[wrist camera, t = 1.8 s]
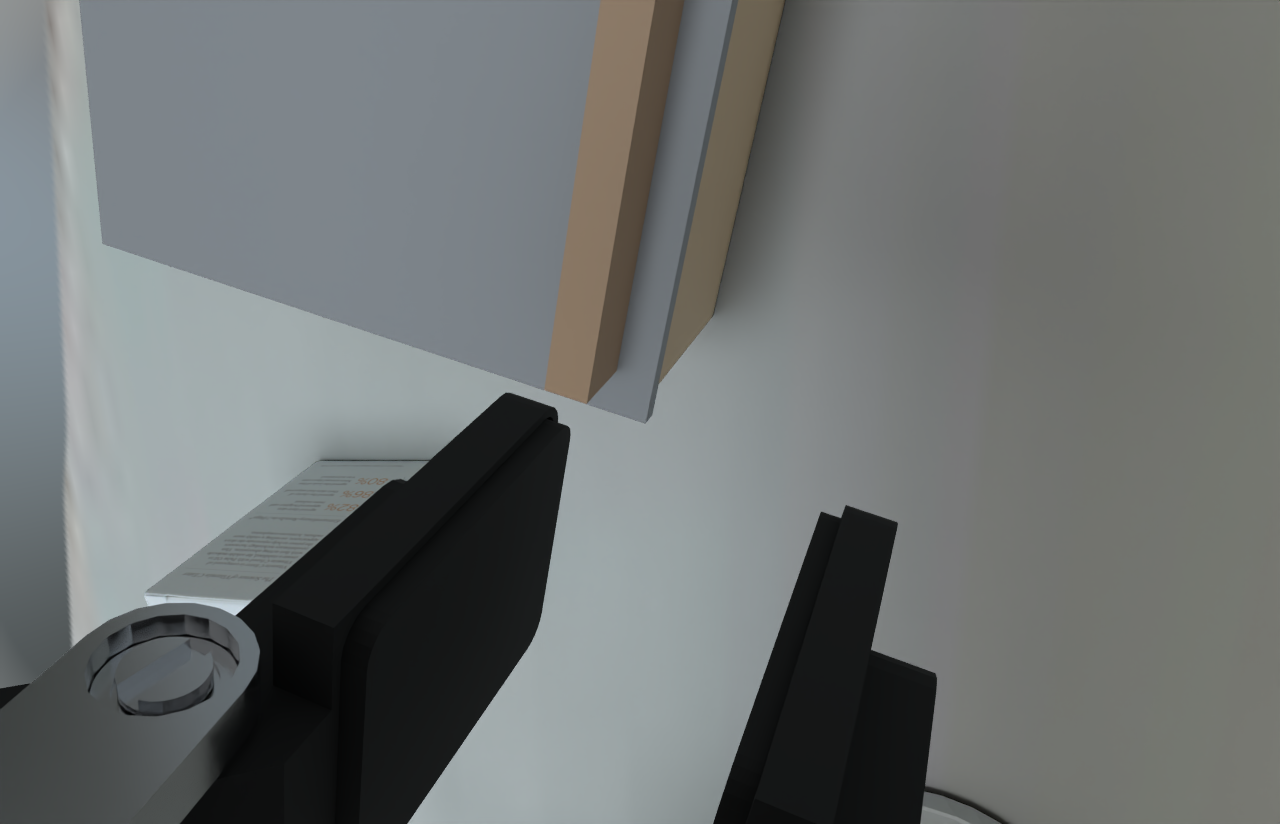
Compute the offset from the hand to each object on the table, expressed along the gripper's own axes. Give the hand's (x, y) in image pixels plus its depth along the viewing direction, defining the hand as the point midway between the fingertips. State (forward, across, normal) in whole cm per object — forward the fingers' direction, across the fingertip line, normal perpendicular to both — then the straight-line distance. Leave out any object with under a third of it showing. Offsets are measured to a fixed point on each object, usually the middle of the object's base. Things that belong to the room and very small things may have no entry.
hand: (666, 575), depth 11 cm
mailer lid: (+16, +13, 0) cm, 21 cm away
